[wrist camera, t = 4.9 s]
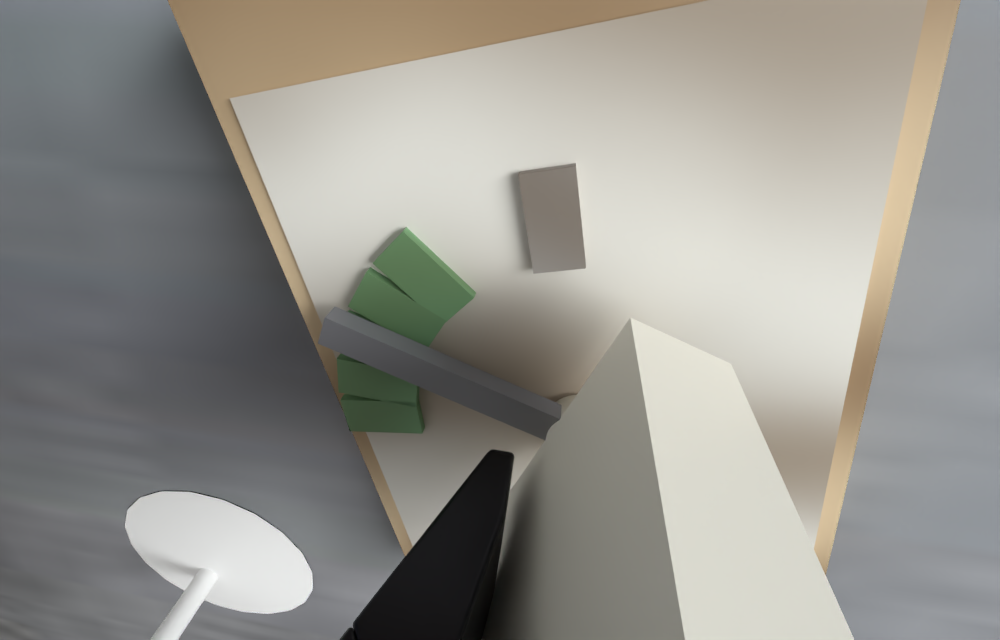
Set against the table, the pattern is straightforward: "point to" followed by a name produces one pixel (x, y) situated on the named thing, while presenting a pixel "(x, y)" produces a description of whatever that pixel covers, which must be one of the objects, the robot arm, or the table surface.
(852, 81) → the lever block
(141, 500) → the wineglass
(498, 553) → the robot arm
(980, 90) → the table surface
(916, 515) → the table surface
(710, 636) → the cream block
